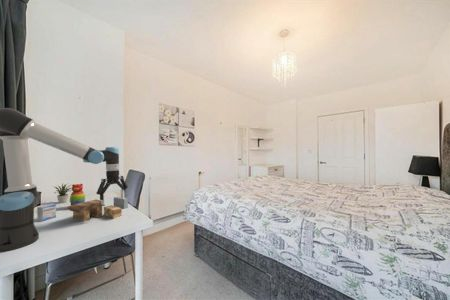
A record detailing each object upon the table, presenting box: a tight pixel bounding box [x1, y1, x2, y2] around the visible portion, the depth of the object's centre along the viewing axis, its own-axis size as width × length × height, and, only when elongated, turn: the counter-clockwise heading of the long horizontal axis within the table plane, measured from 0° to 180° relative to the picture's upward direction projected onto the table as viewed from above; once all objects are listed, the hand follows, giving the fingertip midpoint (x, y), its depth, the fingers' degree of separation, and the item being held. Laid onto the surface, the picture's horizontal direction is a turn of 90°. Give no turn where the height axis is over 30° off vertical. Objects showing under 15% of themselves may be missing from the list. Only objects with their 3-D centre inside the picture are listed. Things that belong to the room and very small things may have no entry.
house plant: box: [54, 182, 72, 204], centre depth 154 cm, size 14×14×16 cm
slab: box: [68, 199, 106, 213], centre depth 123 cm, size 16×10×3 cm, turn 156°
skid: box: [103, 204, 123, 220], centre depth 125 cm, size 12×5×6 cm, turn 59°
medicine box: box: [36, 203, 57, 222], centre depth 120 cm, size 8×4×9 cm, turn 168°
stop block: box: [113, 196, 129, 209], centre depth 145 cm, size 3×12×7 cm, turn 66°
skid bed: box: [72, 206, 103, 222], centre depth 123 cm, size 11×12×6 cm
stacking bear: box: [67, 183, 86, 211], centre depth 144 cm, size 11×10×18 cm
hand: (113, 201), depth 126 cm, fingers open, 13 cm apart
